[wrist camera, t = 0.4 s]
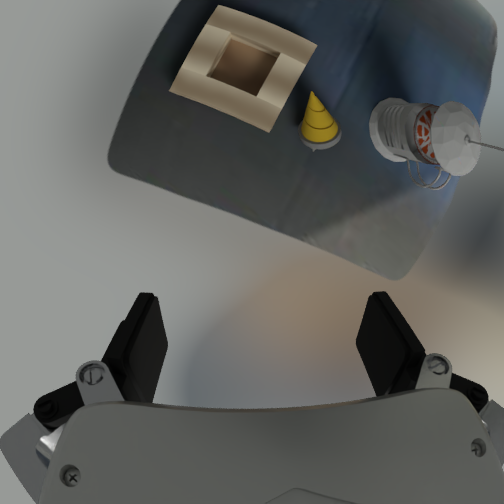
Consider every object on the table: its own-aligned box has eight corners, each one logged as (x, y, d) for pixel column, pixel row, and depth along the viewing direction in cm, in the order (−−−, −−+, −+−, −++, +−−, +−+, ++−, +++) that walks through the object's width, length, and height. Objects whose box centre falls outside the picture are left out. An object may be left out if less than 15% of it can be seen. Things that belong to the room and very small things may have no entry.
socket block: (221, 15, 26) (218, 4, 22) (310, 52, 28) (317, 45, 25) (177, 94, 31) (169, 91, 27) (267, 131, 33) (269, 132, 30)
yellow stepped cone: (296, 153, 35) (278, 100, 26) (314, 127, 35) (301, 73, 26) (331, 168, 33) (323, 113, 24) (348, 139, 33) (344, 84, 24)
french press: (426, 107, 31) (562, 125, 8) (417, 178, 36) (542, 247, 13) (371, 89, 30) (513, 75, 8) (363, 168, 35) (493, 238, 13)
